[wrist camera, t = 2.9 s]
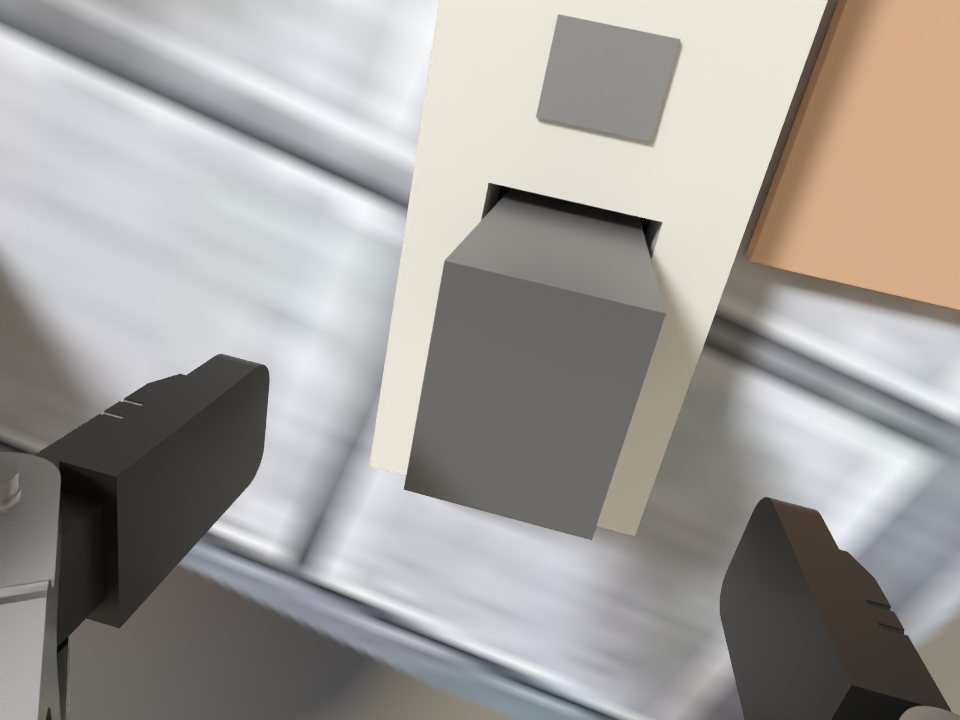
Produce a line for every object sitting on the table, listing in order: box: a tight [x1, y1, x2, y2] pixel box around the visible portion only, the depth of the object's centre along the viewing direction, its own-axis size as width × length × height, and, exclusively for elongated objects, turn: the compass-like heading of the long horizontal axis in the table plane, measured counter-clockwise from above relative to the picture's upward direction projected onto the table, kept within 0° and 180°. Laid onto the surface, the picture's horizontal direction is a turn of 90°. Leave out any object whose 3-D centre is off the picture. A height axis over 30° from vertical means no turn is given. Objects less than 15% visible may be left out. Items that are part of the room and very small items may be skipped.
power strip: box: [370, 0, 828, 537], centre depth 18 cm, size 28×9×3 cm, turn 169°
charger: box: [404, 188, 666, 540], centre depth 17 cm, size 5×4×10 cm
